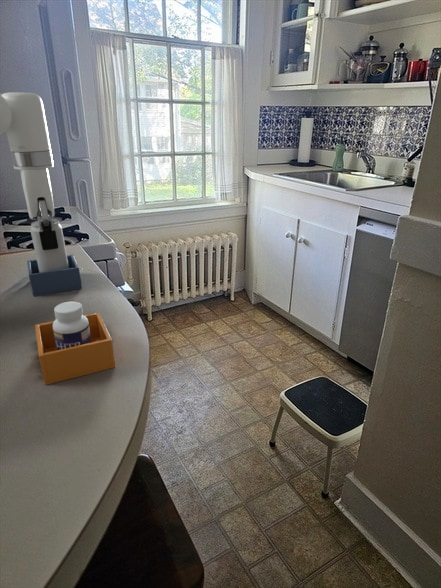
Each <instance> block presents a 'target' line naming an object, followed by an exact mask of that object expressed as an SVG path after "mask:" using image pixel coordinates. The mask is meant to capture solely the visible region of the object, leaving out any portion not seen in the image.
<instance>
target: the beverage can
mask: <svg viewBox="0 0 441 588" xmlns="http://www.w3.org/2000/svg"><path fill="white" fill-rule="evenodd" d="M52 222H53V226H54V230H55V231H56V237H57V242H58V248H57V249H51V250H43V249H42V245H41V240H40V235H39V232H40V228H39V223H38V221H37V220H34V221H33V222H31V223H30V226H31V227H30V234H31V239H32V245H33V250H34V253H35V254H34V255H35V258H36V259H37V263H38V268H39V272H40V273H42V272H49V271H55V270H62V269H69V265H68V259H67V255H68V254H67V248H66V242H65V237H64V233H63V227H62V225H61V224H60V221H59V220H58V219H52Z"/></svg>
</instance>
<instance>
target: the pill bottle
mask: <svg viewBox="0 0 441 588" xmlns="http://www.w3.org/2000/svg"><path fill="white" fill-rule="evenodd" d="M53 311H54V312H53V313H54V317H55V319H54V320H53V321H54V322H53V332H54V337H55V343H56V348H57V350H61V349H65V348H70V347H74V346H79V345H83V344H88V343H91V336H90V329H89V322H88V319H87V318H86V317H85V316H84V315H85V314H83V313H84V311H83V305H82V303H80V302H78V301H65V302H61V303H58V304H57V305H56V306H55V307H54V308H53Z"/></svg>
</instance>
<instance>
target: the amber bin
mask: <svg viewBox="0 0 441 588" xmlns="http://www.w3.org/2000/svg"><path fill="white" fill-rule="evenodd" d="M83 315H84V316H85V317H86V318H87V319H88V322H89V329H90V336H91V343H88V344H83V345H79V346H74V347H70V348H65V349H61V350H57V348H56V343H55V337H54V332H53V322H54V321H55V320H53V321H47V322H42V323H38V324H34V328H35V336H36V338H35V339H36V345H37V352H38V360H39V363H40V369H41V371H42V372H41V373H42V376H43V381H44V385H45V386H46V385H52V384H54V383H60V382H62V381H63V382H64V381H66V380H70V379H74V378H78V377H82V376H86V375H90V374H94V373H98V372H103V371H105V370H110V369H113V368H116V363H115V361H116V360H115V353H114V347H113V340H112V337H111V336H110V333H109V331H108V329H107V326H106V325H105V322H104V320H103V317H102V316H101V314H100V312H94V313H89V314H83Z"/></svg>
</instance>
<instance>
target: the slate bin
mask: <svg viewBox="0 0 441 588" xmlns="http://www.w3.org/2000/svg"><path fill="white" fill-rule="evenodd" d="M67 259H68V265H69V269H62V270H55V271H49V272H42V273H40V272H39V268H38V263H37V258H36V259H31V260H26V265H27V272H28V278H29V283H30V288H31V292H32V296H33V297H38V296H45V295H51V294H56V293H63V292H67V291H75V290H81V289H83V285H82V279H81V273H80V268H79V264H78V262H77V261H76V258H75V256H74V255H73V254H67Z"/></svg>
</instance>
